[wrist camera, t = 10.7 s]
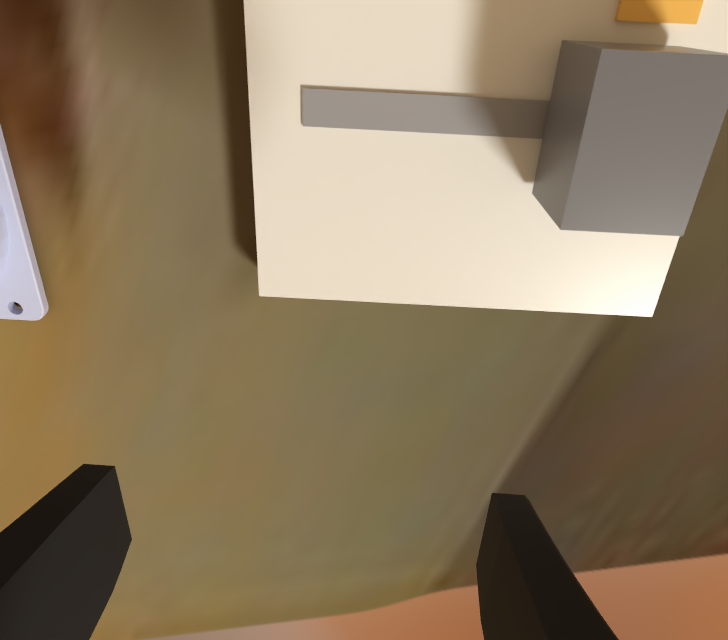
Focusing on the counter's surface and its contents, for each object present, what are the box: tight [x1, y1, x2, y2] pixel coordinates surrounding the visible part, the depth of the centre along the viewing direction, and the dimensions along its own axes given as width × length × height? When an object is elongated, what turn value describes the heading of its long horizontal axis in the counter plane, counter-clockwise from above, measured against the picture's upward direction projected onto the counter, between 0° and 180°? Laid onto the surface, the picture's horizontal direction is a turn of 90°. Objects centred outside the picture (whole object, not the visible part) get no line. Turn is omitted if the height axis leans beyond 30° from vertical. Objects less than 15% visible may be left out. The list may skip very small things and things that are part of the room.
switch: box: [532, 40, 728, 236], centre depth 14 cm, size 3×4×3 cm
